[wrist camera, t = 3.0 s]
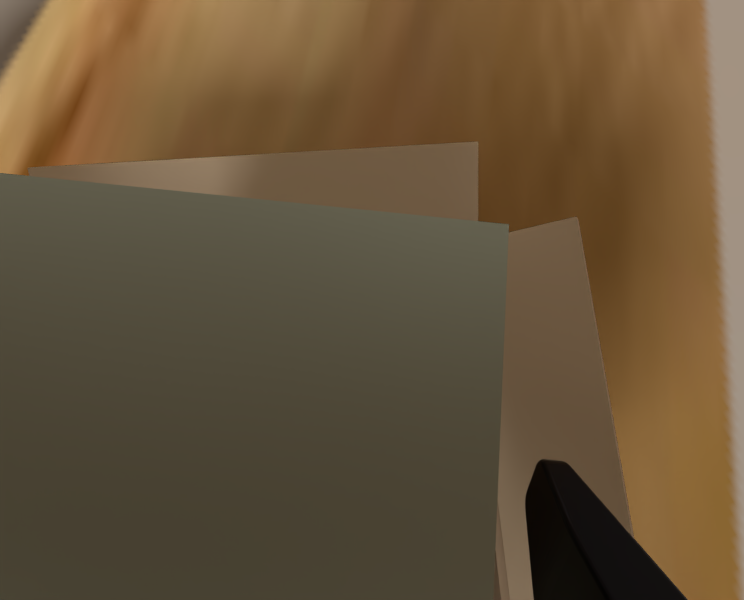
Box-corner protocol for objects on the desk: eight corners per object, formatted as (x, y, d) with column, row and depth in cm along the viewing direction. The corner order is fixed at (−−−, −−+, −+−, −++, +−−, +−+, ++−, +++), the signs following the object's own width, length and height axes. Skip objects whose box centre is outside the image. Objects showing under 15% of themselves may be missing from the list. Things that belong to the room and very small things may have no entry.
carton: (565, 642, 15) (679, 760, 9) (38, 693, 14) (-152, 849, 9) (505, 220, 18) (568, 130, 12) (63, 248, 17) (-71, 167, 12)
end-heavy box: (376, 566, 15) (463, 1268, 2) (196, 547, 15) (-648, 1158, 2) (392, 384, 16) (509, 224, 4) (225, 367, 16) (-245, 148, 4)
